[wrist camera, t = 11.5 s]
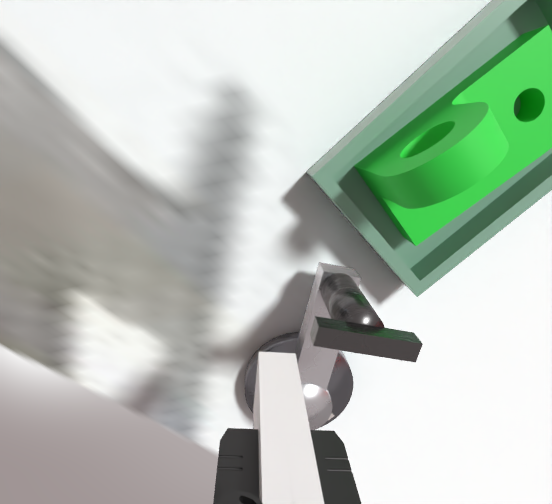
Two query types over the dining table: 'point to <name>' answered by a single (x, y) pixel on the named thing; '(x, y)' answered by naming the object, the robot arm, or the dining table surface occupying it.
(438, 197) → the mechanical part
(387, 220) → the tray
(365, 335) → the crank
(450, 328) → the dining table surface
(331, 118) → the dining table surface
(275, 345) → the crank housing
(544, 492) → the dining table surface
